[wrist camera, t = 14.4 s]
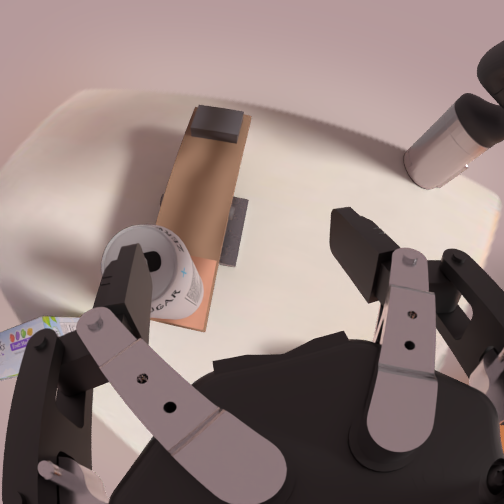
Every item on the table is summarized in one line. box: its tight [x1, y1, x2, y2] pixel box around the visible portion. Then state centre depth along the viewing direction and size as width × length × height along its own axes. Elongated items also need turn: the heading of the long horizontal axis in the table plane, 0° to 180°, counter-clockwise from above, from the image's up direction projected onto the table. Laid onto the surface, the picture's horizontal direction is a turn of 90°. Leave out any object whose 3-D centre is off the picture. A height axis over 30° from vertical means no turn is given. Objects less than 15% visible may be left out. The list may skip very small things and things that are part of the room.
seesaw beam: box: [150, 105, 251, 332], centre depth 34 cm, size 9×28×4 cm, turn 170°
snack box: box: [0, 316, 80, 381], centre depth 28 cm, size 21×6×15 cm, turn 112°
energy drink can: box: [101, 224, 204, 320], centre depth 23 cm, size 6×6×15 cm
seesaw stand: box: [219, 197, 248, 267], centre depth 39 cm, size 12×10×6 cm
